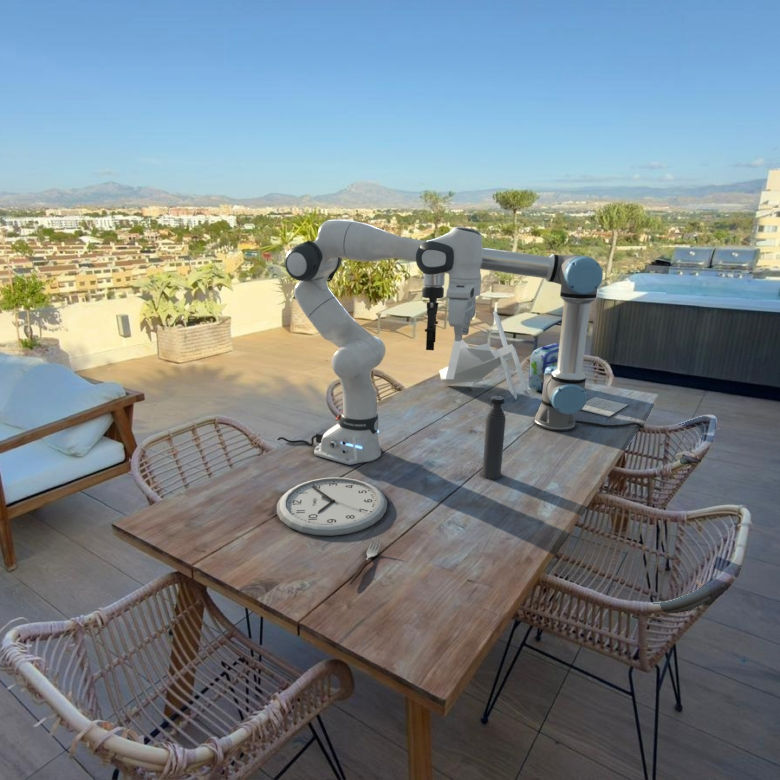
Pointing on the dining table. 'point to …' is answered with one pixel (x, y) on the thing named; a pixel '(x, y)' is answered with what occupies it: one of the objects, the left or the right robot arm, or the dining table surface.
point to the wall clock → (331, 506)
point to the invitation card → (603, 406)
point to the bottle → (493, 442)
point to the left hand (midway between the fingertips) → (461, 337)
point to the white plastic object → (482, 362)
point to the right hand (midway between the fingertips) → (430, 345)
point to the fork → (370, 554)
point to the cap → (497, 400)
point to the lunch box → (542, 364)
